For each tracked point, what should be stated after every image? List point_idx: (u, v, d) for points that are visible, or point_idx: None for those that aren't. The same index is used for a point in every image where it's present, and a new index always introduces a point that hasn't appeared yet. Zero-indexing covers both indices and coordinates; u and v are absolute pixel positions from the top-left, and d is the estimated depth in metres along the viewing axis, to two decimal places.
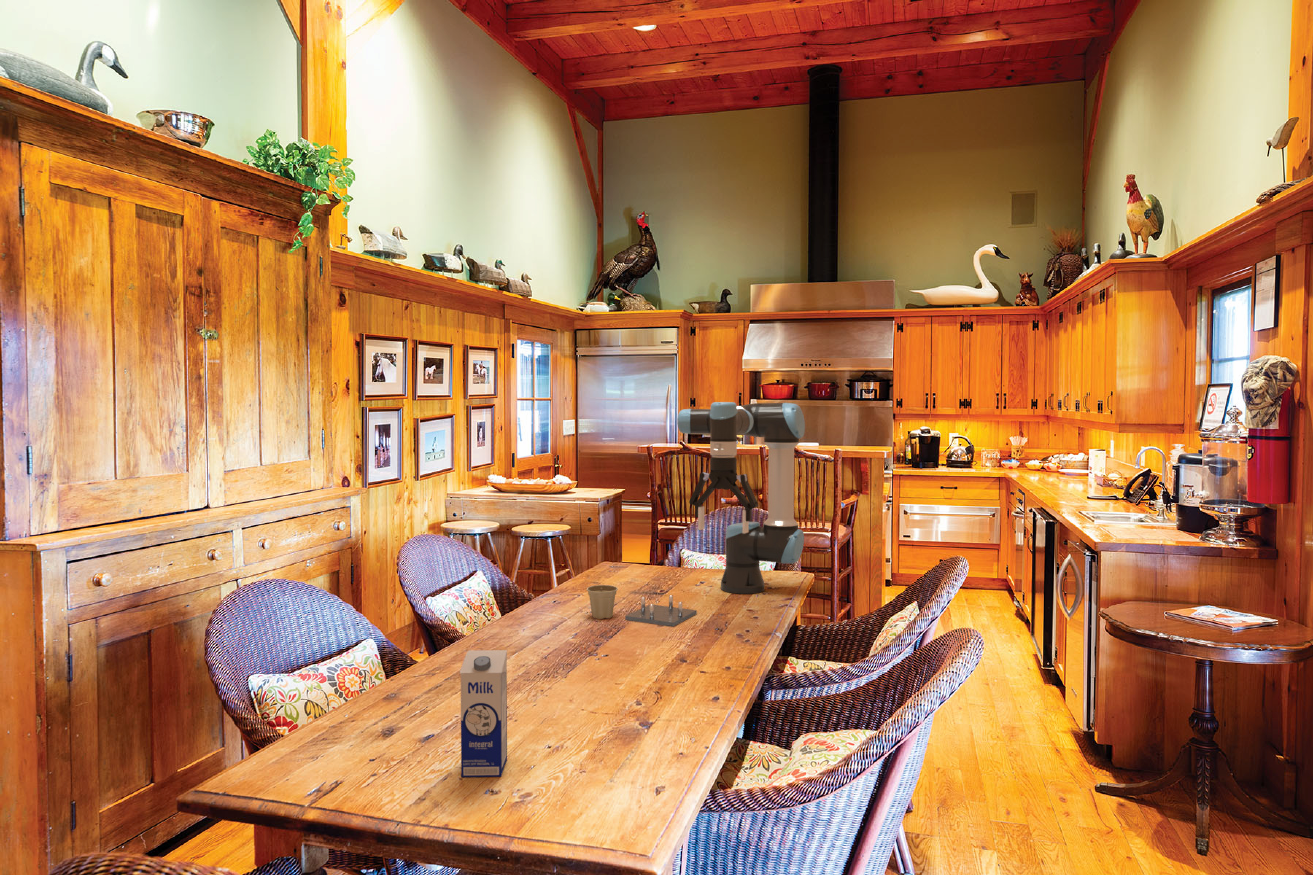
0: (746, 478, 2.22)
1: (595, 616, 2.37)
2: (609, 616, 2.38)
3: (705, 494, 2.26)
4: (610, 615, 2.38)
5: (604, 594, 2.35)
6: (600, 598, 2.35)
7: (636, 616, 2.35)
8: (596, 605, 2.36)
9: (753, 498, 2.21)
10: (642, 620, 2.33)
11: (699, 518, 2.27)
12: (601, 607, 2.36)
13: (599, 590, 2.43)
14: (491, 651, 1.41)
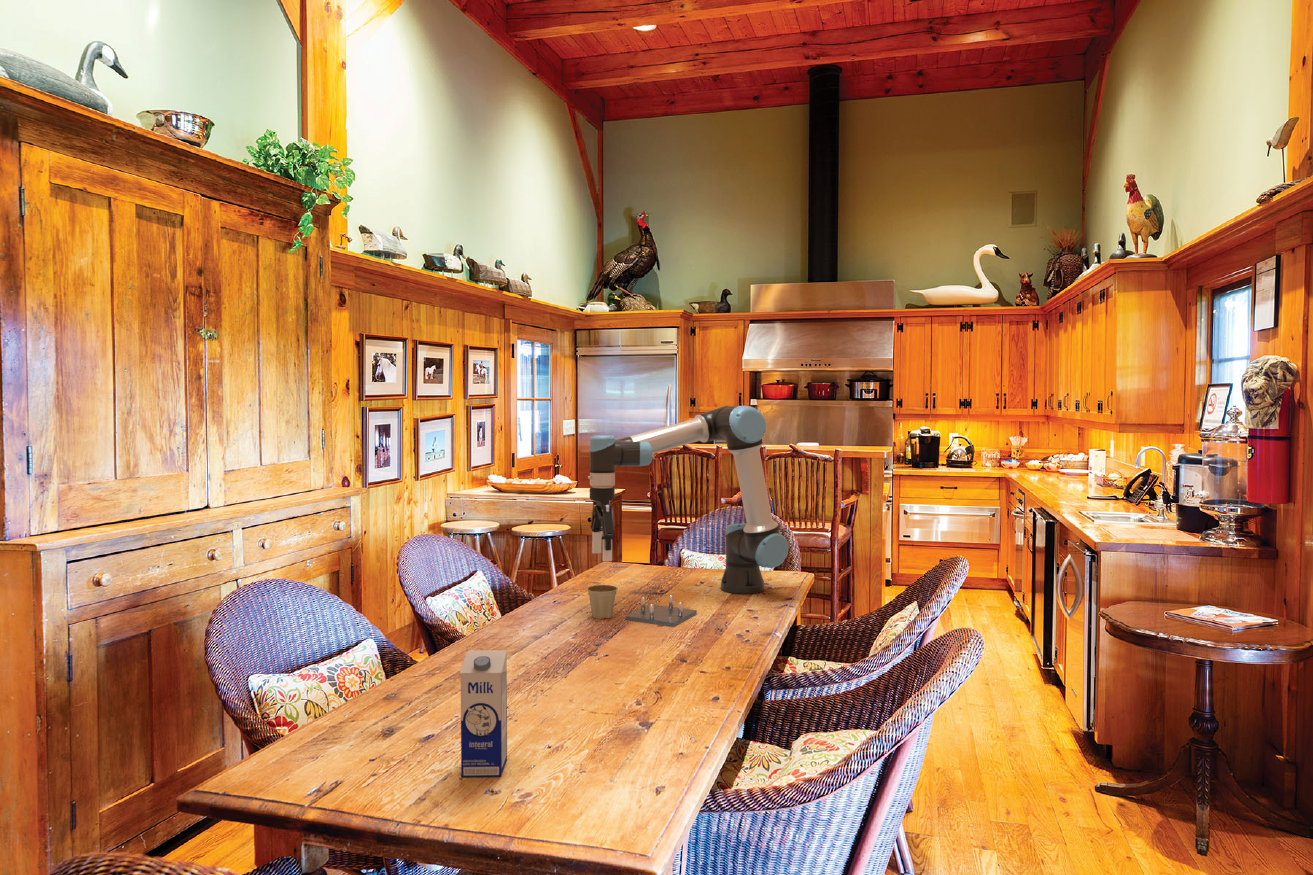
0: (609, 509, 2.32)
1: (595, 616, 2.37)
2: (609, 616, 2.38)
3: (594, 520, 2.43)
4: (610, 615, 2.38)
5: (604, 594, 2.35)
6: (600, 598, 2.35)
7: (636, 616, 2.35)
8: (596, 605, 2.36)
9: (608, 529, 2.30)
10: (642, 620, 2.33)
11: (592, 542, 2.45)
12: (601, 607, 2.36)
13: (599, 590, 2.43)
14: (491, 651, 1.41)
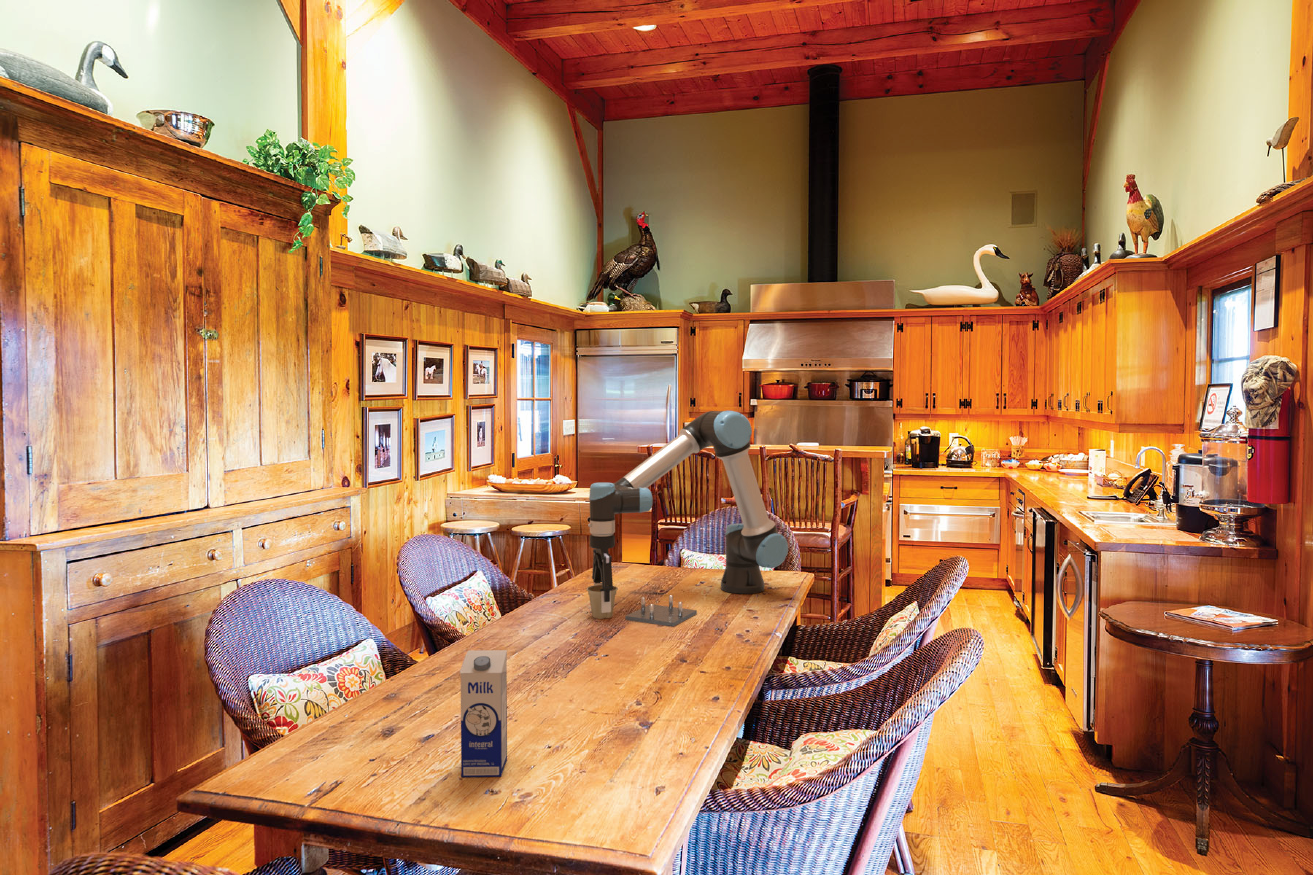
0: (609, 560, 2.33)
1: (595, 616, 2.37)
2: (609, 616, 2.38)
3: (595, 570, 2.42)
4: (610, 615, 2.38)
5: None
6: (600, 598, 2.35)
7: (636, 616, 2.35)
8: (596, 605, 2.36)
9: (607, 581, 2.32)
10: (642, 620, 2.33)
11: None
12: None
13: (599, 590, 2.43)
14: (491, 651, 1.41)
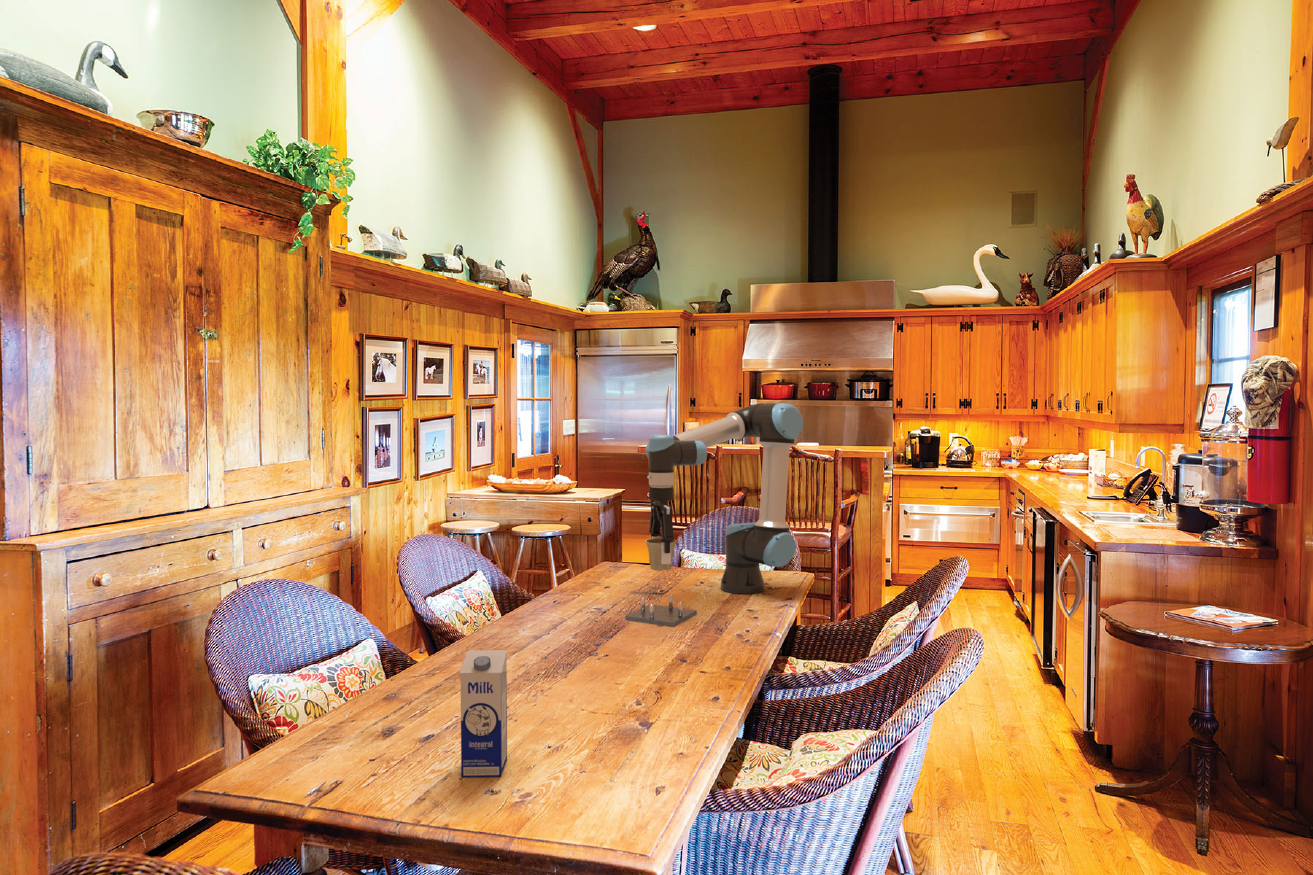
0: (669, 511, 2.32)
1: (654, 568, 2.36)
2: (668, 568, 2.37)
3: (653, 523, 2.42)
4: (669, 567, 2.37)
5: None
6: (660, 550, 2.35)
7: (636, 616, 2.35)
8: (655, 557, 2.35)
9: (668, 532, 2.31)
10: (642, 620, 2.33)
11: None
12: None
13: None
14: (491, 651, 1.41)
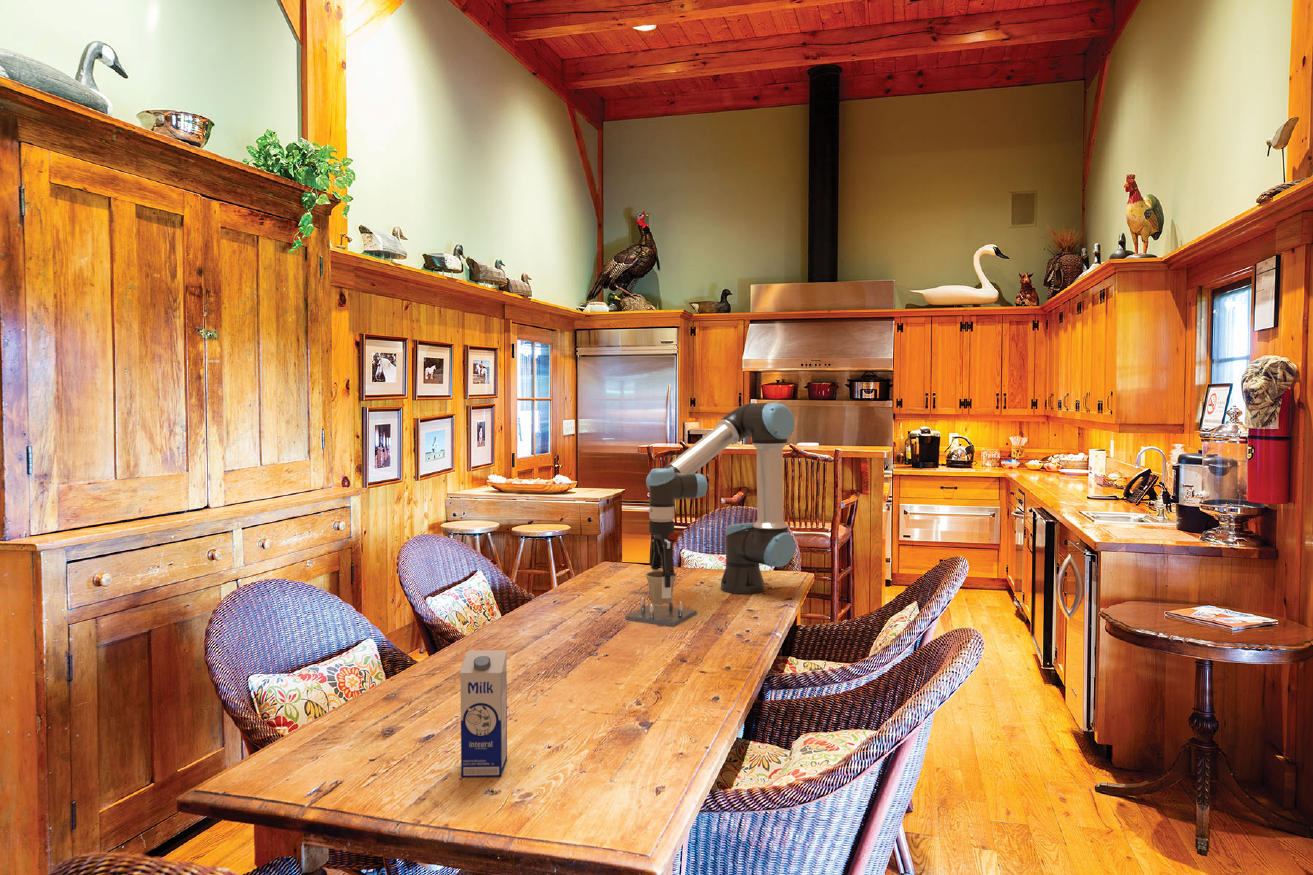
0: (670, 546, 2.32)
1: (654, 602, 2.37)
2: (668, 602, 2.37)
3: (653, 556, 2.42)
4: (669, 601, 2.37)
5: None
6: (660, 584, 2.35)
7: (636, 616, 2.35)
8: (656, 591, 2.36)
9: (668, 566, 2.31)
10: (642, 620, 2.33)
11: None
12: (661, 593, 2.36)
13: (657, 576, 2.43)
14: (491, 651, 1.41)
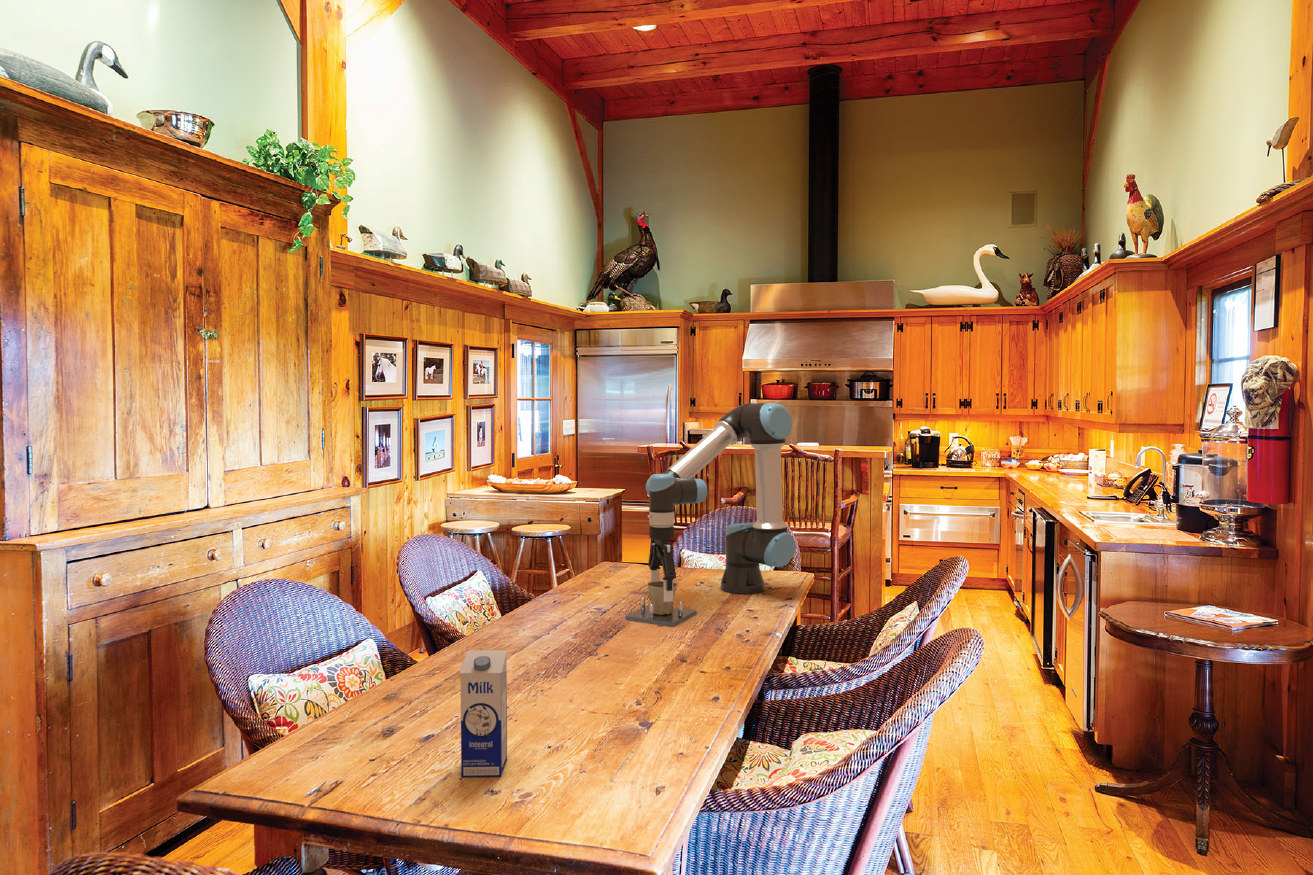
0: (670, 549, 2.32)
1: (655, 612, 2.37)
2: (669, 612, 2.37)
3: (652, 559, 2.43)
4: (670, 611, 2.37)
5: None
6: (661, 594, 2.35)
7: (636, 616, 2.35)
8: (656, 601, 2.36)
9: (670, 569, 2.30)
10: (642, 620, 2.33)
11: None
12: (661, 603, 2.36)
13: (658, 586, 2.43)
14: (491, 651, 1.41)
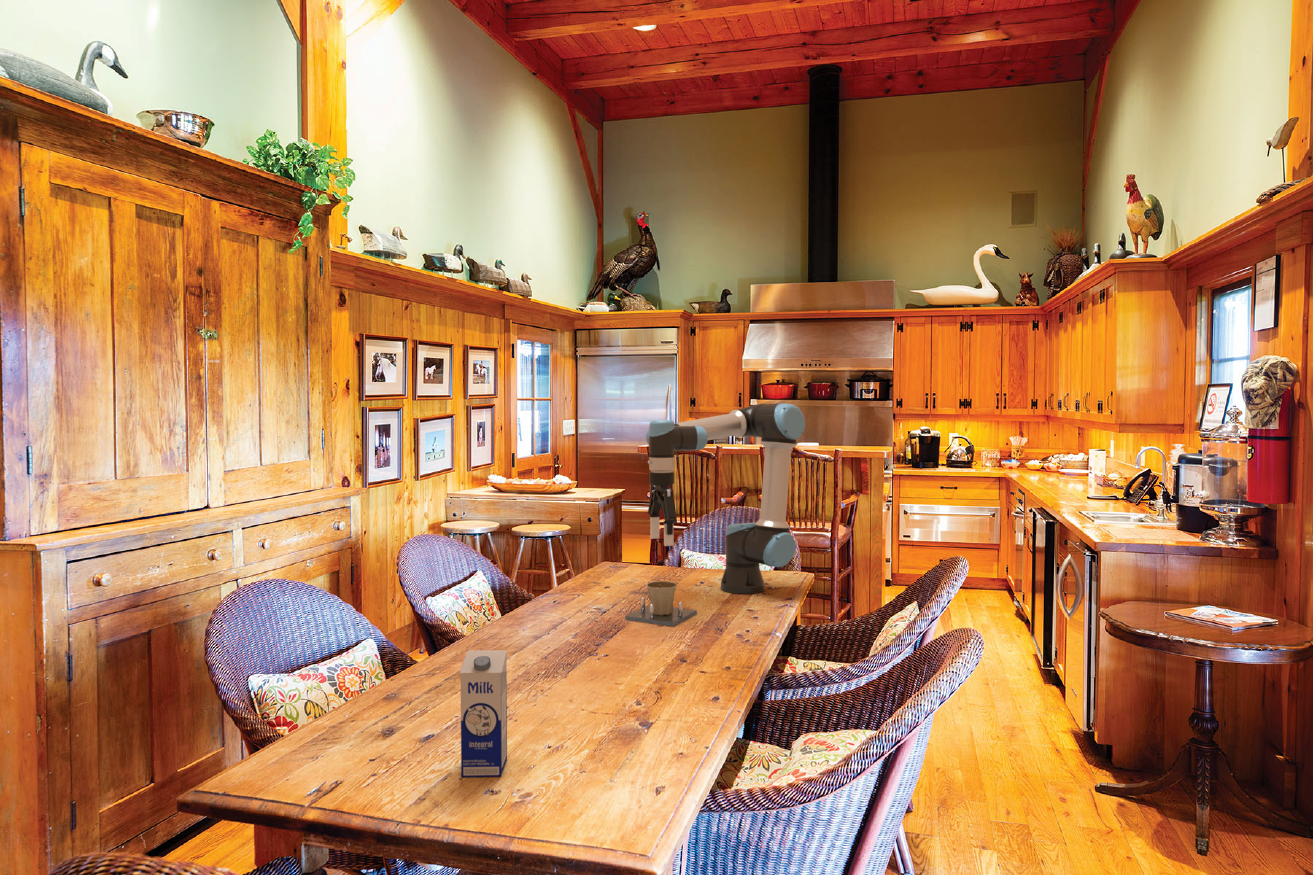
0: (670, 493, 2.32)
1: (655, 612, 2.37)
2: (669, 612, 2.37)
3: (652, 506, 2.43)
4: (670, 611, 2.37)
5: (665, 590, 2.35)
6: (661, 595, 2.35)
7: (636, 616, 2.35)
8: (656, 601, 2.36)
9: (670, 513, 2.29)
10: (642, 620, 2.33)
11: (650, 527, 2.44)
12: (661, 604, 2.36)
13: (658, 586, 2.43)
14: (491, 651, 1.41)
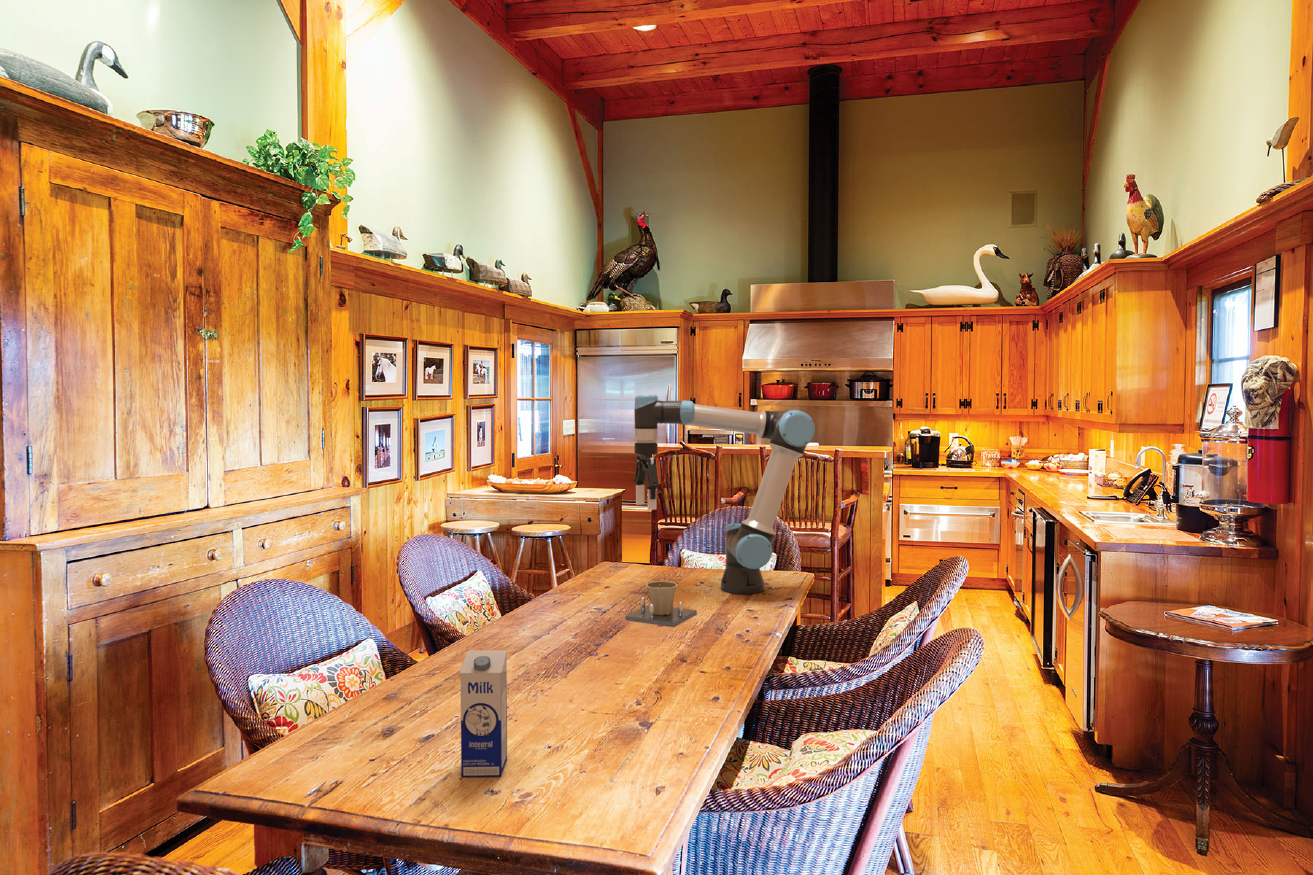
0: (653, 461, 2.52)
1: (655, 612, 2.37)
2: (669, 612, 2.37)
3: (638, 474, 2.63)
4: (670, 611, 2.37)
5: (665, 590, 2.35)
6: (661, 594, 2.35)
7: (636, 616, 2.35)
8: (656, 601, 2.36)
9: (653, 479, 2.50)
10: (642, 620, 2.33)
11: (636, 494, 2.65)
12: (661, 604, 2.36)
13: (658, 586, 2.43)
14: (491, 651, 1.41)
